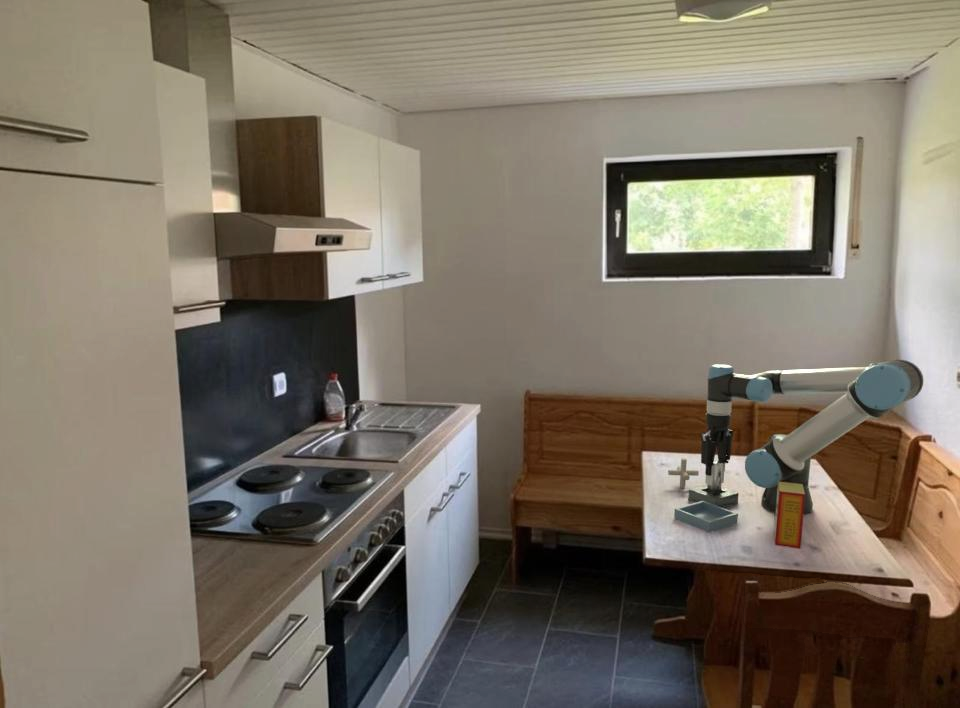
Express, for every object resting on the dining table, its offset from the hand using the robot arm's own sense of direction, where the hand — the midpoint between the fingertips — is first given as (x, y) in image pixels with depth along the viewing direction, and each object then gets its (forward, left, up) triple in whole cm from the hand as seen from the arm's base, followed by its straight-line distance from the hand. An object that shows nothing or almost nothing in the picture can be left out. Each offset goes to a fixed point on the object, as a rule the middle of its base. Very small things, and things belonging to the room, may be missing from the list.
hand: (714, 483), depth 235 cm
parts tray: (-10, +16, -6) cm, 20 cm away
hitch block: (0, 0, -6) cm, 6 cm away
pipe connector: (+15, -2, -6) cm, 16 cm away
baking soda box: (-32, +8, -6) cm, 33 cm away
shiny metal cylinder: (0, 0, -5) cm, 5 cm away
